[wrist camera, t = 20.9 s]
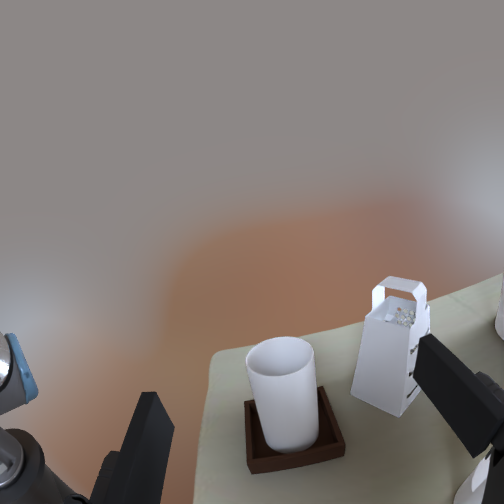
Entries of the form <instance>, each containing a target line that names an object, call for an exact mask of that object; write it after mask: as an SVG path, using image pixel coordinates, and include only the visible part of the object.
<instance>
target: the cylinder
mask: <svg viewBox="0 0 504 504" xmlns="http://www.w3.org/2000/svg"><path fill="white" fill-rule="evenodd" d="M495 329H496V331H497V333H498V335H499V336H500V337H501V338H502V339H503V340H504V275H503V283H502V289H501V295H500V301H499V306H498V311H497V316H496V320H495Z"/></svg>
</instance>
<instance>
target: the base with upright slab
mask: <svg viewBox="0 0 504 504" xmlns="http://www.w3.org/2000/svg"><path fill="white" fill-rule="evenodd" d="M490 455H491V454H490ZM489 459H490V456H489V457H488V458H487V460H485V457H484V459H483V460H482V461H481V462H480V463H479V464H478V465H477V467H476V468H475V469H474V471H473V472H472V473H471V474H470V475H469V477H468V478H467V479H466V480H465V481H464V482H463V484H462V485H461V486H460V488H459V489H458V491H457V493H456V495H455V497H454V503H453V504H481V503H482V499H483V495H484V490H485V485H486V480H487V475H488V469H489V463H490V460H489Z"/></svg>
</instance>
